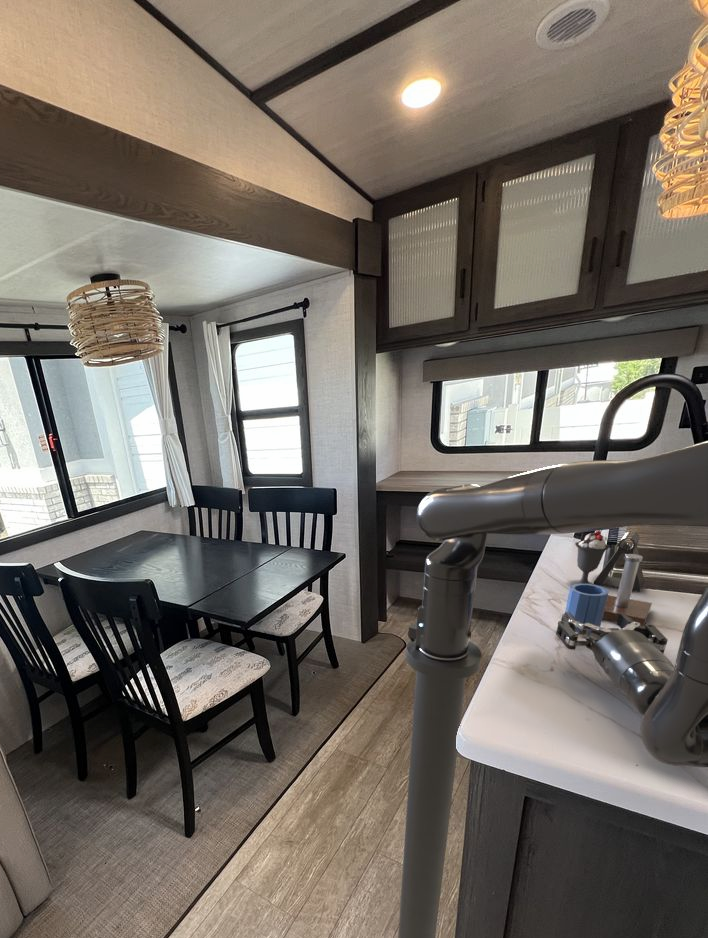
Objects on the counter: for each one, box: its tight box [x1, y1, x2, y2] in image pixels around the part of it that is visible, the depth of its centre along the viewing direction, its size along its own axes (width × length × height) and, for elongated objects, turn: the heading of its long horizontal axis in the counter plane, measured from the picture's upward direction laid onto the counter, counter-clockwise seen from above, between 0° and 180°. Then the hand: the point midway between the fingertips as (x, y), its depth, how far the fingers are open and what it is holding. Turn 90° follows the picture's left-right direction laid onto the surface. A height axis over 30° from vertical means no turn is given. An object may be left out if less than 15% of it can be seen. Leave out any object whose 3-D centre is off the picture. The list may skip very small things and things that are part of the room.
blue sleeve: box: [564, 584, 609, 635], centre depth 88 cm, size 6×6×10 cm
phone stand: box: [592, 531, 645, 593], centre depth 108 cm, size 9×6×12 cm, turn 46°
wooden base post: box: [602, 553, 653, 626], centre depth 95 cm, size 9×9×13 cm
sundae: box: [570, 530, 611, 586], centre depth 109 cm, size 7×7×15 cm
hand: (592, 617), depth 85 cm, fingers open, 8 cm apart
